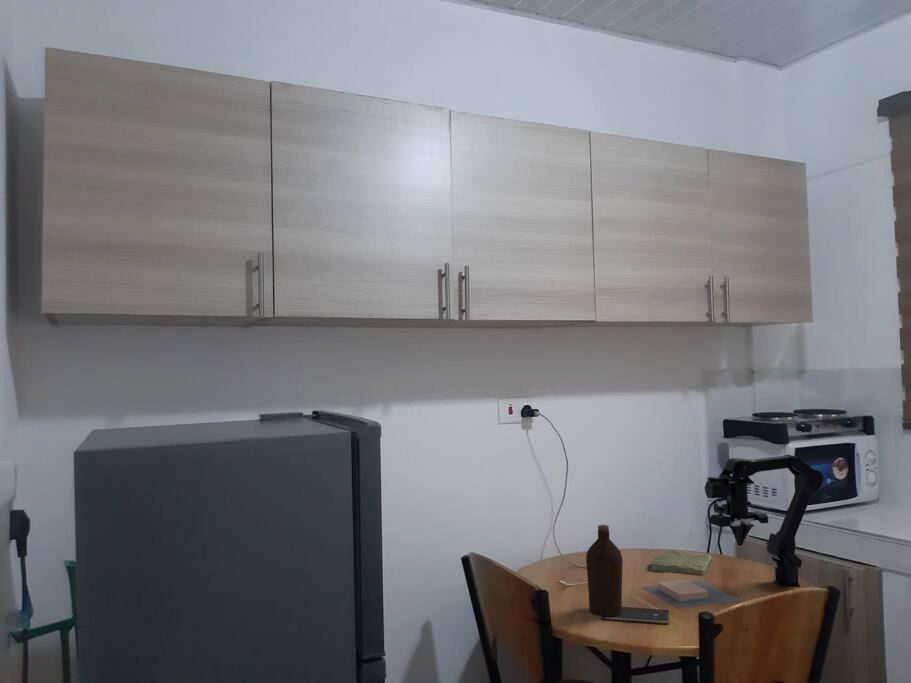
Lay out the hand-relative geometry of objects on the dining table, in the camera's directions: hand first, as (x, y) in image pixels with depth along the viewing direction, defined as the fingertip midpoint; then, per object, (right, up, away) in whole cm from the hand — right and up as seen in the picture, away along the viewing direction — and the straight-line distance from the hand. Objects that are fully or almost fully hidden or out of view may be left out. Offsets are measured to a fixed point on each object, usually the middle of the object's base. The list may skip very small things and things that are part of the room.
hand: (739, 545), depth 223 cm
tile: (-17, -11, -8) cm, 22 cm away
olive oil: (-49, -13, -21) cm, 55 cm away
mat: (-20, -13, -9) cm, 25 cm away
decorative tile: (-12, -15, +22) cm, 29 cm away
